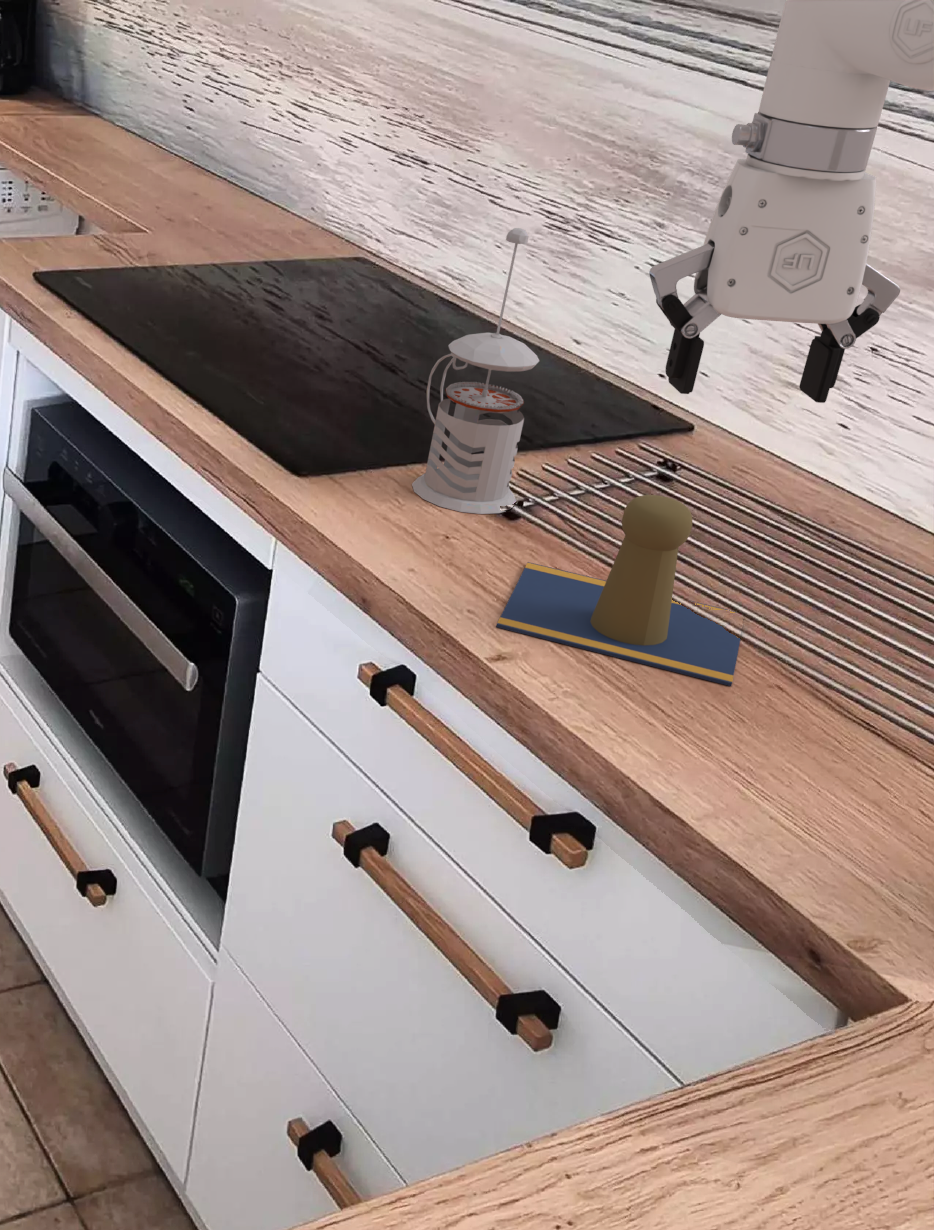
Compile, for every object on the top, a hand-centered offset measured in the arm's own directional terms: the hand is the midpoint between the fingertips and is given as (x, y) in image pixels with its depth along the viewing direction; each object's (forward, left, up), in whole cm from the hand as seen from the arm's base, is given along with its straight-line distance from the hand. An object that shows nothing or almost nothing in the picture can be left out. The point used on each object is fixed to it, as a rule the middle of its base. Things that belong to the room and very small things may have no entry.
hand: (745, 392), depth 123 cm
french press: (+22, -27, -22) cm, 41 cm away
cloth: (+4, -6, -22) cm, 23 cm away
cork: (+4, -4, -22) cm, 23 cm away
